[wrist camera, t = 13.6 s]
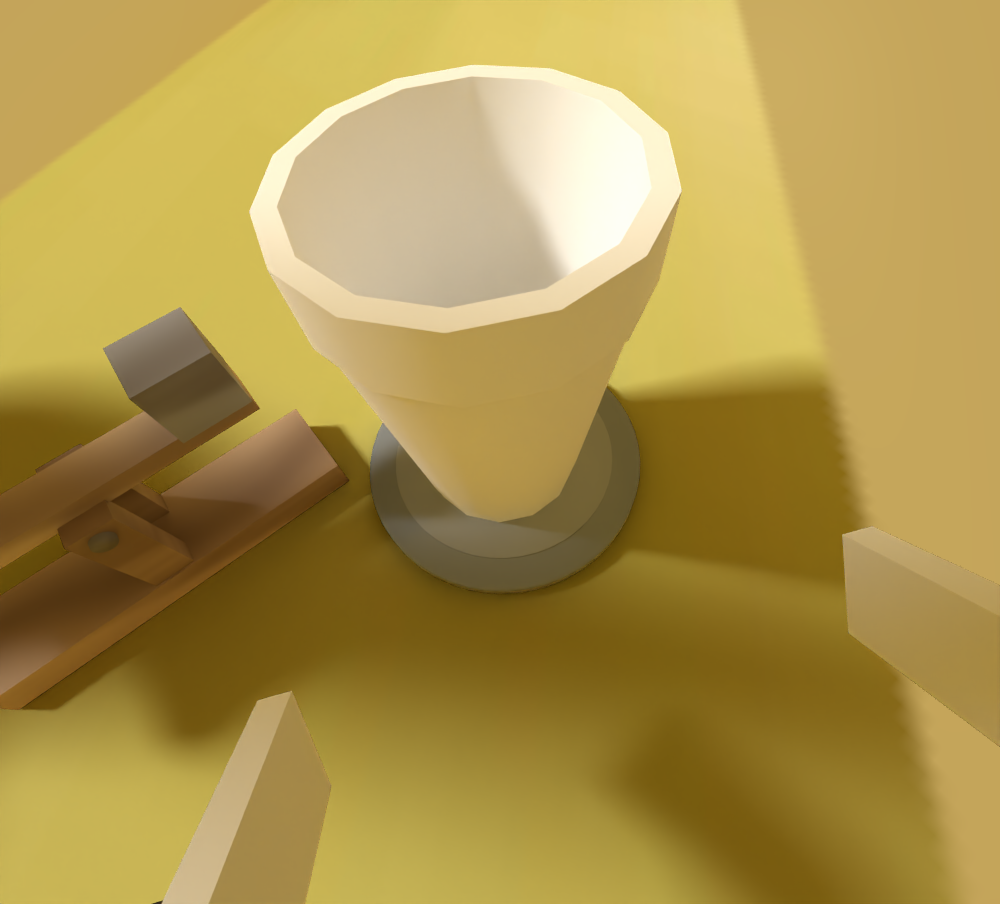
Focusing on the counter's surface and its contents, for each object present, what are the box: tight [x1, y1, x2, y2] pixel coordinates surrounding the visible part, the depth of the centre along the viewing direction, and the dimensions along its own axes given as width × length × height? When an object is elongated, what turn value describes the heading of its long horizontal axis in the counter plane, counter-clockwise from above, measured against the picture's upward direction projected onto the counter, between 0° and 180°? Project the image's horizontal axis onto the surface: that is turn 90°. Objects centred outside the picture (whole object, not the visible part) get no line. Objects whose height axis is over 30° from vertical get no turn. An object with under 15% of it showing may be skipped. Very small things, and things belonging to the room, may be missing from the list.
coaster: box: [370, 387, 640, 594], centre depth 23 cm, size 12×12×1 cm
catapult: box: [0, 307, 349, 710], centre depth 18 cm, size 5×16×9 cm, turn 129°
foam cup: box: [249, 65, 682, 522], centre depth 17 cm, size 10×9×13 cm
